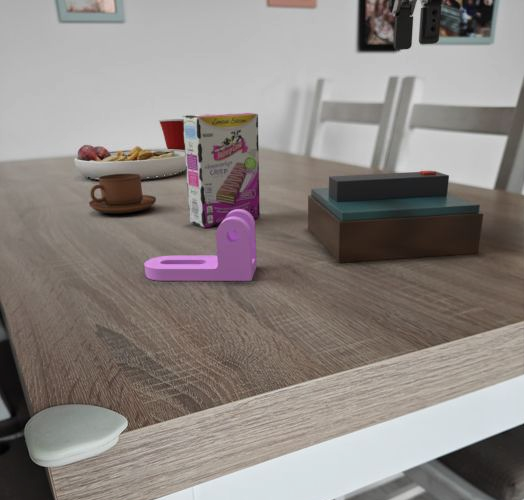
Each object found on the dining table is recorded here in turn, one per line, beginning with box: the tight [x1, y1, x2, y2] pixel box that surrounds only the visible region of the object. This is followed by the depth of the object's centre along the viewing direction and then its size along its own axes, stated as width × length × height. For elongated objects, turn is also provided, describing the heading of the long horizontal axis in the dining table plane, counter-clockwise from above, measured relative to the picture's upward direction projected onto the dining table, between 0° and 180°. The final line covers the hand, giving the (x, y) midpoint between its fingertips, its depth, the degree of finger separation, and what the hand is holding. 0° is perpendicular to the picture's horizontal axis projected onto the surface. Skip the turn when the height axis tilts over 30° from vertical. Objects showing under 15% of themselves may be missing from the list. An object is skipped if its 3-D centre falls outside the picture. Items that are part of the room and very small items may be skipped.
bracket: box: [143, 209, 258, 282], centre depth 64 cm, size 13×6×7 cm, turn 84°
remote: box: [328, 170, 450, 202], centre depth 74 cm, size 5×15×3 cm, turn 97°
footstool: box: [307, 187, 484, 264], centre depth 76 cm, size 18×19×6 cm
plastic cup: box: [157, 118, 185, 150], centre depth 179 cm, size 11×11×12 cm
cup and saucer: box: [88, 174, 157, 215], centre depth 101 cm, size 12×12×6 cm
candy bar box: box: [182, 112, 261, 229], centre depth 88 cm, size 11×5×16 cm, turn 126°
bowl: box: [74, 144, 186, 181], centre depth 146 cm, size 30×30×8 cm
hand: (414, 46), depth 69 cm, fingers open, 8 cm apart
